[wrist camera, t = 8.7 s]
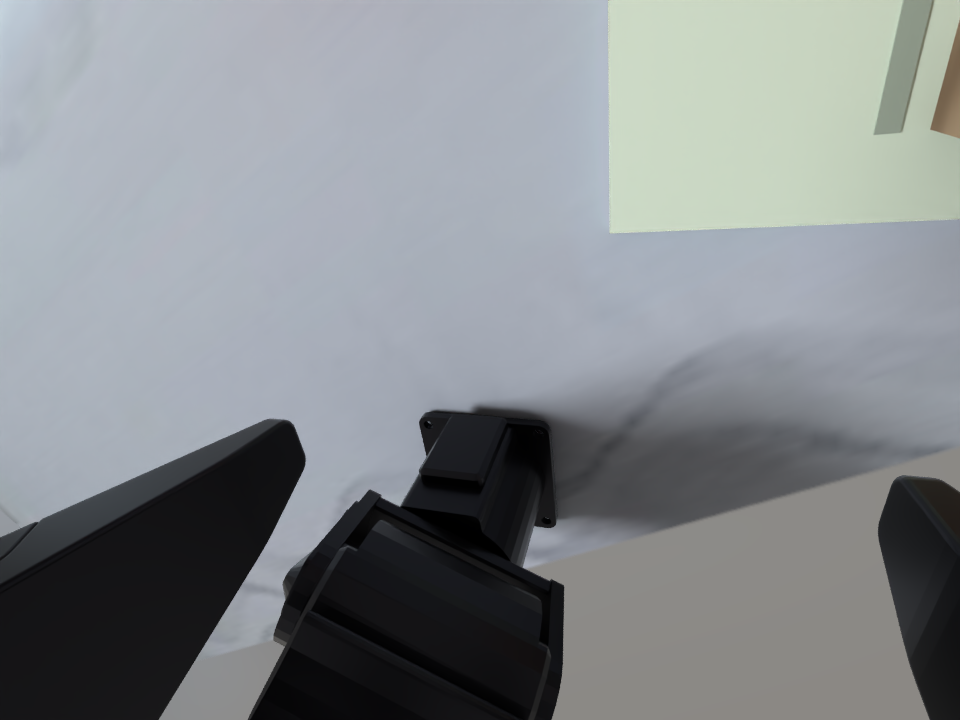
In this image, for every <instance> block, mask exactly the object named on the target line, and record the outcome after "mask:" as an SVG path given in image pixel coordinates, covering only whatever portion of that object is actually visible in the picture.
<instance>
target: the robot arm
mask: <svg viewBox="0 0 960 720" xmlns="http://www.w3.org/2000/svg"><path fill="white" fill-rule="evenodd" d="M428 421H430V422H431V423H432V424H433V425H432V424H430V423H428ZM419 425H420V429H421V434H422V438H423V443H424V447H425V451H426V456H427V457H426V459H425V461H424V462H423V464H422V466H421V467H420V469H419V475H418V476H417V478H416V480H415V482H414V483H413V485H412V487H411V488H410V490H409V492H408V494H407V495H406V497H405V499H404V500H403V502H402V504H401V506H400V507H399V506H397V505H395V504H393V503H391V502H389V501H387V500H385V499H383V498H381V496H382V495H380V494H378V493H376V492H374V491H372V490H369V491H368V492H367V493H366V494H365V495H364V497H363V498H362V499H361V500H360V501H359V502H358V501H356V502H355V503H354V504H353V505H352V506H351V507H350V508H349V510H346V512H345V513H344V515H343V516H342V518H341V519H340V520H339V521H338V522H337V524H336V525H335V526H334V527H333V528H332V529H331V531H330V532H329V533H328V534H327V535H326V536H325V538H324V539H323V540H322V541H321V542H320V543H319V544H318V546H317V547H316V548H315V549H314V550H313V551H312V552H310V553H309V554H308V555H307V556H306V557H304V558H303V559H302V560H301V561H299V562H298V563H297V564H296V565H295V566H293V567H292V568H291V569H290V571H289V572H288V574H287V575H286V577H285V579H284V581H283V589H284V595H285V603H284V605H283V608H282V611H281V616H280V618H279V621H278V623H277V626H276V629H275V632H274V641H275V642H277V643H280V644H281V645H283V646H285V648H284V650H283V652H282V654H281V656H280V657H279V659H278V661H277V663H276V665H275V667H274V669H273V671H272V673H271V675H270V677H269V679H268V681H267V683H266V685H265V686H264V688H263V691H262V693H261V695H260V696H259V698H258V700H257V702H256V704H255V706H254V708H253V710H252V712H251V714H250V716H249V718H248V720H551V719H552V716H553V713H554V709H555V706H556V702H557V698H558V694H559V689H560V683H561V677H562V665H563V619H564V585H562V584H560V583H558V582H556V581H554V580H552V579H551V580H550V581H549V580H547V579H544V578H543V577H541V576H538V575H536V574H534V573H532V572H530V571H528V570H526V569H524V568H522V567H523V564H524V560H525V556H526V553H527V549H528V546H529V542H530V538H531V535H532V531H533V528H534V526H537V527H544V528H552V527H554V526H555V525H556V521H557V503H556V490H555V477H554V464H553V451H552V438H551V429H550V426H549V425H548V424H547V423H545V422H544V421H540V420H527V419H514V418H502V417H492V416H479V415H466V414H448V413H435V412H426V413H425V414H424V415H423V416H422V418H421V419H420V421H419ZM535 430H540V431H542V432H543V433H542V434H540V433H537V432H536V431H535ZM305 462H306V458H305V453H304V451H303V448H302V445H301V443H300V440H299V437H298V434H297V432H296V429H295V427H294V425H293V424H292V423H291V422H290V421H288V420H282V419H267V420H264V421H262V422H259V423H257V424H255V425H253V426H250V427H248V428H246V429H244V430H241V431H239V432H237V433H235V434H232V435H230V436H228V437H226V438H223V439H221V440H219V441H217V442H214V443H212V444H210V445H208V446H205V447H203V448H201V449H199V450H196V451H194V452H192V453H190V454H187V455H185V456H183V457H181V458H178V459H176V460H174V461H172V462H169V463H167V464H165V465H163V466H160V467H158V468H156V469H154V470H151V471H149V472H147V473H145V474H142V475H140V476H138V477H136V478H133V479H131V480H129V481H127V482H124V483H122V484H120V485H118V486H115V487H113V488H111V489H109V490H106V491H104V492H102V493H100V494H97V495H95V496H93V497H91V498H88V499H86V500H84V501H82V502H79V503H77V504H75V505H73V506H70V507H68V508H66V509H64V510H61V511H59V512H57V513H54V514H52V515H50V516H48V517H45V518H43V519H42V520H41V521H40V522H34V523H32V524H29V525H27V526H25V527H23V528H20V529H18V530H16V531H14V532H11V533H9V534H7V535H5V536H2V537H0V720H159V718H160V716H161V715H162V713H163V712H164V710H165V708H166V707H167V705H168V703H169V702H170V700H171V698H172V697H173V695H174V694H175V692H176V690H177V689H178V687H179V686H180V684H181V682H182V681H183V679H184V677H185V676H186V674H187V673H188V671H189V669H190V668H191V666H192V664H193V663H194V661H195V660H196V658H197V656H198V655H199V653H200V652H201V650H202V648H203V647H204V645H205V643H206V642H207V640H208V639H209V637H210V635H211V634H212V632H213V630H214V629H215V627H216V626H217V624H218V622H219V621H220V619H221V617H222V616H223V614H224V613H225V611H226V609H227V608H228V606H229V604H230V603H231V601H232V600H233V598H234V596H235V595H236V593H237V592H238V590H239V588H240V587H241V585H242V583H243V582H244V580H245V579H246V577H247V575H248V574H249V572H250V570H251V569H252V567H253V566H254V564H255V562H256V561H257V559H258V557H259V556H260V554H261V552H262V551H263V549H264V547H265V546H266V544H267V542H268V540H269V538H270V536H271V534H272V533H273V531H274V529H275V527H276V525H277V523H278V521H279V518H280V516H281V514H282V512H283V510H284V508H285V506H286V504H287V502H288V500H289V498H290V496H291V494H292V492H293V490H294V488H295V486H296V484H297V482H298V480H299V478H300V476H301V474H302V472H303V470H304V467H305ZM545 517H547V518H545ZM548 518H549V519H548ZM878 537H879V543H880V547H881V552H882V556H883V560H884V564H885V568H886V572H887V576H888V580H889V584H890V588H891V593H892V596H893V601H894V605H895V609H896V613H897V617H898V622H899V626H900V630H901V634H902V638H903V642H904V645H905V649H906V653H907V657H908V660H909V663H910V667H911V669H912V672H913V675H914V678H915V681H916V684H917V687H918V690H919V692H920V695H921V697H922V700H923V703H924V706H925V708H926V711H927V713H928V716H929V719H930V720H960V492H959V491H957V490H956V489H955V488H953V487H952V486H950V485H949V484H947V483H945V482H944V481H942V480H940V479H936V478H928V477H916V476H906V475H903V476H899V477H897V478H896V479H895V480H894V481H893V483H892V485H891V488H890V491H889V494H888V497H887V500H886V504H885V506H884V509H883V512H882V515H881V518H880V521H879V527H878Z"/></svg>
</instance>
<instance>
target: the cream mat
mask: <svg viewBox="0 0 960 720" xmlns="http://www.w3.org/2000/svg"><path fill="white" fill-rule="evenodd" d="M959 20H960V0H608V58H609V206H610V233H634V232H658V231H683V230H708V229H732V228H757V227H782V226H806V225H831V224H856V223H881V222H905V221H930V220H955V219H960V138H956V137H953V136H950V135H946V134H943V133H940V132H936V131H933V130H930V128H931V124H932V120H933V116H934V113H935V109H936V105H937V102H938V98H939V94H940V90H941V87H942V83H943V79H944V76H945V72H946V68H947V64H948V61H949V57H950V53H951V50H952V46H953V42H954V38H955V35H956V31H957V27H958V24H959Z"/></svg>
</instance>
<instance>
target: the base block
mask: <svg viewBox="0 0 960 720" xmlns="http://www.w3.org/2000/svg"><path fill="white" fill-rule="evenodd" d="M930 130H933V131H936V132H940V133H943V134H946V135H950V136H953V137H956V138H960V20H959V24H958V27H957V31H956V35H955V38H954V42H953V46H952V50H951V53H950V57H949V61H948V64H947V68H946V72H945V76H944V79H943V83H942V87H941V90H940V94H939V98H938V102H937V105H936V109H935V113H934V116H933V120H932V124H931V128H930Z"/></svg>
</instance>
